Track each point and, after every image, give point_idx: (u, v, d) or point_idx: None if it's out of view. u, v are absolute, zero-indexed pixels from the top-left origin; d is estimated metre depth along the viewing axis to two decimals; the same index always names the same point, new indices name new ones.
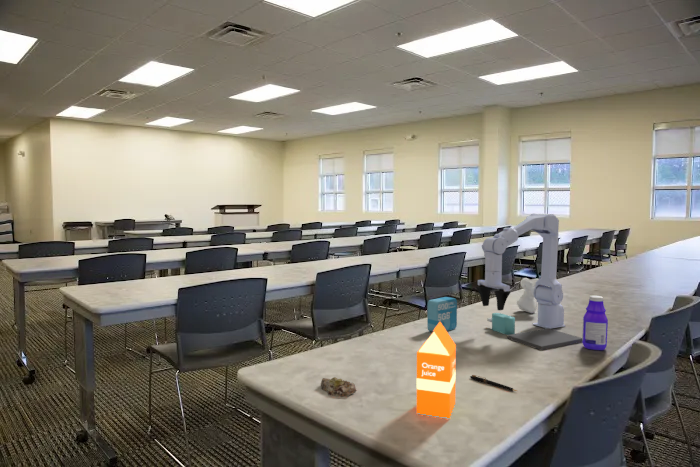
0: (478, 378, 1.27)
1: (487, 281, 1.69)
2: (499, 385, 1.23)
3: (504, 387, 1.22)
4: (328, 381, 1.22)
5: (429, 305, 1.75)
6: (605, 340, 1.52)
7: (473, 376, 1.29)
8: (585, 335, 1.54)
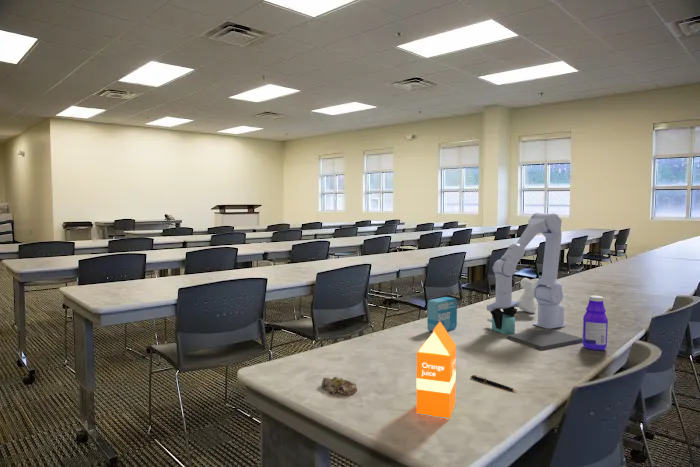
0: (479, 378, 1.27)
1: None
2: (499, 385, 1.23)
3: (504, 387, 1.22)
4: (329, 381, 1.23)
5: (429, 305, 1.75)
6: (605, 340, 1.52)
7: (474, 376, 1.29)
8: (585, 335, 1.54)
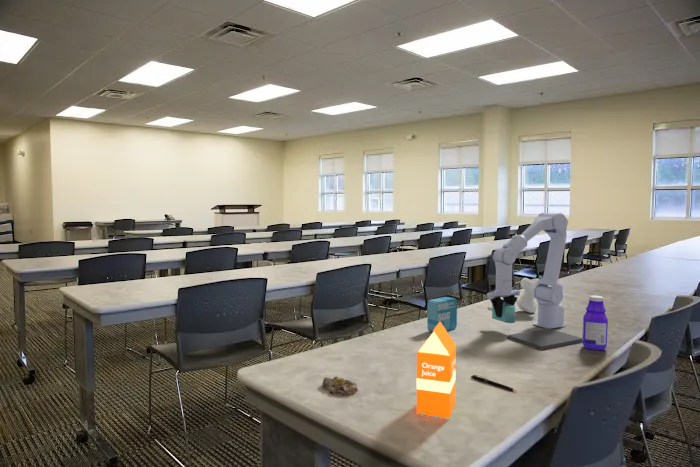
0: (479, 378, 1.28)
1: None
2: (499, 385, 1.23)
3: (504, 387, 1.22)
4: (330, 380, 1.23)
5: (429, 305, 1.75)
6: (605, 340, 1.52)
7: (474, 376, 1.29)
8: (585, 335, 1.54)
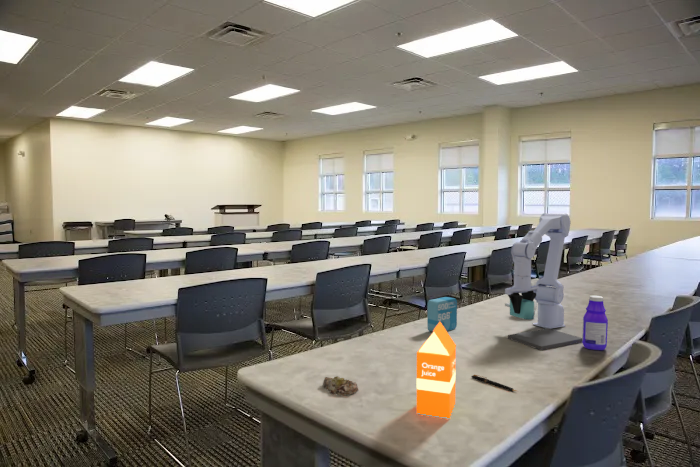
0: (479, 378, 1.28)
1: None
2: (499, 385, 1.23)
3: (504, 387, 1.22)
4: (330, 380, 1.23)
5: (429, 305, 1.75)
6: (605, 340, 1.52)
7: (474, 376, 1.29)
8: (585, 335, 1.54)
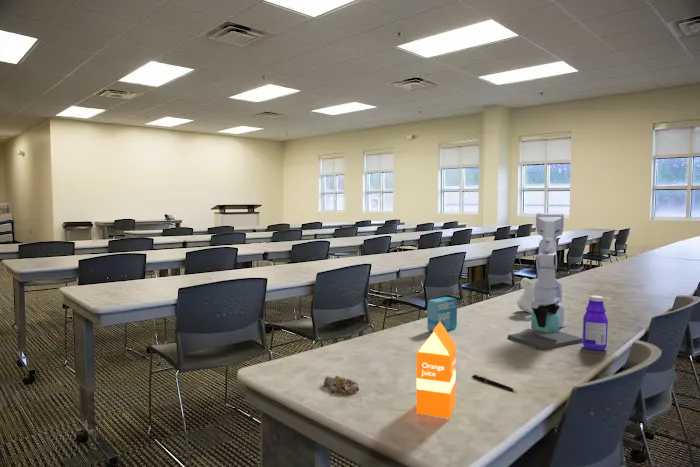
0: (480, 378, 1.28)
1: None
2: (499, 385, 1.23)
3: (504, 387, 1.22)
4: (331, 380, 1.23)
5: (429, 305, 1.75)
6: (605, 340, 1.52)
7: (475, 375, 1.29)
8: (585, 335, 1.54)
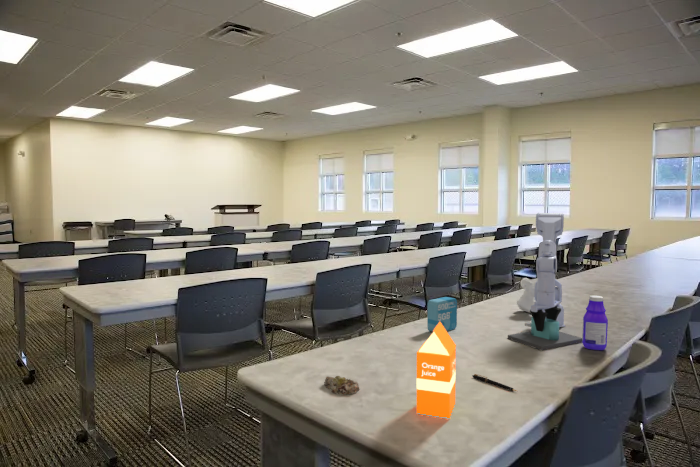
0: (480, 377, 1.28)
1: None
2: (499, 385, 1.23)
3: (504, 387, 1.22)
4: (332, 379, 1.23)
5: (429, 305, 1.75)
6: (605, 340, 1.52)
7: (475, 375, 1.29)
8: (585, 335, 1.54)
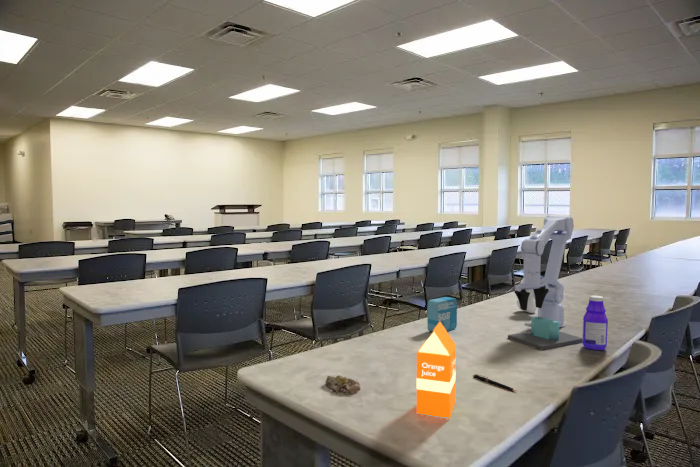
0: (481, 377, 1.28)
1: None
2: (499, 385, 1.23)
3: (504, 387, 1.22)
4: (333, 379, 1.24)
5: (429, 305, 1.75)
6: (605, 340, 1.52)
7: (476, 375, 1.30)
8: (585, 335, 1.54)
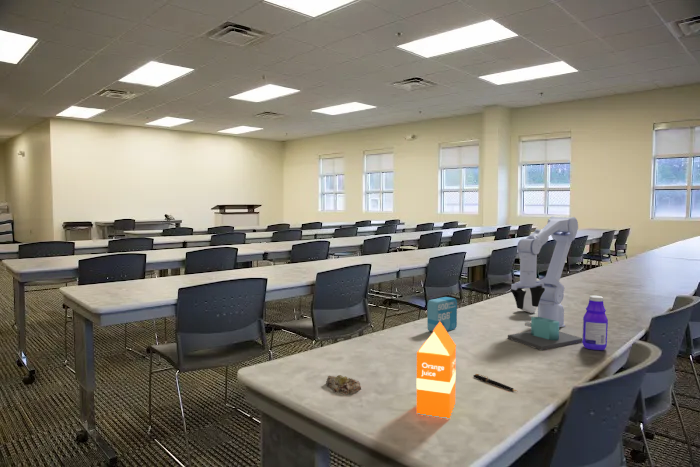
0: (481, 377, 1.28)
1: None
2: (500, 385, 1.23)
3: (505, 387, 1.22)
4: (333, 379, 1.24)
5: (429, 305, 1.75)
6: (605, 340, 1.52)
7: (476, 375, 1.30)
8: (585, 335, 1.54)
